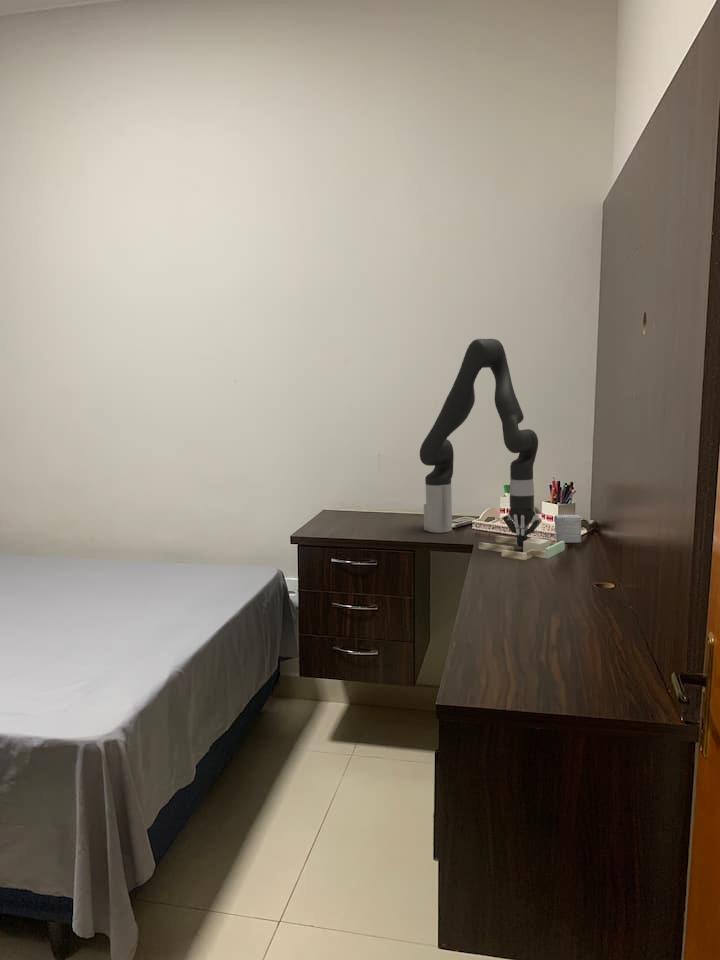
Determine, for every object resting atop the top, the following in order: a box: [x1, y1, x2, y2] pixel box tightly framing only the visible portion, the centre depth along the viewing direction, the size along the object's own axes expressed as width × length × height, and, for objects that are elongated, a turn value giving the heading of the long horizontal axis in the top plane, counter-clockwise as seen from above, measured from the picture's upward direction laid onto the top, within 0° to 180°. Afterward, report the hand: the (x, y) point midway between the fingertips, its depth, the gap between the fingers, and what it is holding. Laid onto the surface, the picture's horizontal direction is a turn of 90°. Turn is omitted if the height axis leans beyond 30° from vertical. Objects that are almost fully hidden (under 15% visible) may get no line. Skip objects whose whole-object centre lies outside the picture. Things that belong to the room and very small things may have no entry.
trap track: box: [478, 535, 566, 561], centre depth 236 cm, size 24×22×3 cm
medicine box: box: [554, 514, 582, 544], centre depth 244 cm, size 8×4×9 cm, turn 84°
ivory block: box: [522, 537, 550, 553], centre depth 232 cm, size 6×6×4 cm
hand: (522, 546), depth 235 cm, fingers closed
